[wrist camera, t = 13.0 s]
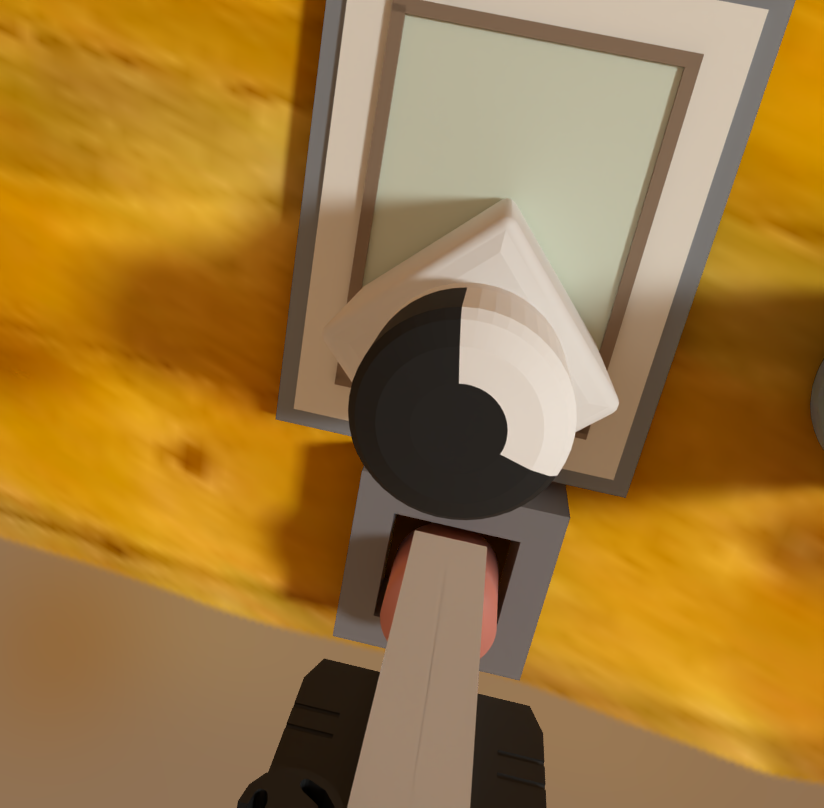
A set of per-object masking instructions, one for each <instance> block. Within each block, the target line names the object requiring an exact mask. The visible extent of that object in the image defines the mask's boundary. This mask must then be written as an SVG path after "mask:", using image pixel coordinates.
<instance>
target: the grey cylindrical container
mask: <svg viewBox="0 0 824 808" xmlns="http://www.w3.org/2000/svg"><path fill="white" fill-rule="evenodd" d="M810 408H811V419H812V423H813V427H814V431H815V434H816V436H817V439H818V442H819V443H820V445H821V447H822V448H823V450H824V360H823V362H822V363H821V365H820V367H819V369H818V371H817V374H816V377H815V380H814V383H813V387H812V394H811V403H810Z"/></svg>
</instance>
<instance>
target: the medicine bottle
mask: <svg viewBox="0 0 824 808" xmlns="http://www.w3.org/2000/svg"><path fill="white" fill-rule="evenodd" d="M322 337H323V340H324V342H325V343H326V345H327V346H328V348H329V349H330V351H331V352H332V354H333V355H334V357H335V358H336V360H337V361H338V363H339V364H340V365H341V367H342V368H343V370H344V371H345V373H346V374H347V376H348V377H349V379H350V380H351V382H352V385H351V390H350V394H349V404H348V418H349V428H350V432H351V436H352V441H353V443H354V446H355V448H356V451H357V454H358V456H359V457H360V459H361V461H362V463H363V465H364V466H365V468H366V469H367V471H368V472H369V473H370V475H371V476H372V477H373V479H374V480H375V481H376V482H377V483H378V484H379V485H380V486H381V487H382V488H383V489H384V490H385V491H387V492H388V493H389V494H390V495H392V496H393V497H394V498H395V499H397V500H399V501H400V502H402V503H404V504H405V505H407V506H409V507H411V508H413V509H415V510H418V511H420V512H422V513H425V514H429V515H432V516H435V517H440V518H445V519H451V520H478V519H485V518H490V517H495V516H499V515H502V514H505V513H508V512H511V511H513V510H515V509H517V508H519V507H521V506H523V505H525V504H526V503H528V502H529V501H531V500H532V499H534V498H535V497H537V496H538V495H539V494H540V493H541V492H542V491H543V490H545V489H546V488H547V487H548V486H549V485H550V483H551V482H552V481H553V480H554V479H555V478H556V476H557V475H558V474H559V472H560V470H561V469H562V467H563V466H564V464H565V462H566V460H567V458H568V455H569V453H570V451H571V448H572V445H573V441H574V437H575V432H577V431H579V430H581V429H583V428H585V427H587V426H589V425H591V424H593V423H594V422H596V421H598V420H600V419H602V418H604V417H606V416H608V415H610V414H612V413H614V412H615V411H616V410H617V407H618V405H619V401H618V397H617V395H616V392H615V390H614V387H613V385H612V382H611V380H610V377H609V375H608V372H607V370H606V367H605V365H604V363H603V360H602V358H601V355H600V353H599V350H598V348H597V345H596V343H595V341H594V340H593V338H592V336H591V334H590V333H589V331H588V329H587V327H586V326H585V324H584V322H583V320H582V318H581V317H580V315H579V313H578V311H577V310H576V308H575V306H574V304H573V303H572V301H571V299H570V297H569V296H568V294H567V292H566V290H565V289H564V287H563V285H562V283H561V282H560V280H559V278H558V276H557V275H556V273H555V271H554V269H553V268H552V266H551V264H550V262H549V261H548V259H547V257H546V255H545V254H544V252H543V250H542V248H541V247H540V245H539V243H538V241H537V240H536V238H535V236H534V234H533V233H532V231H531V229H530V227H529V226H528V224H527V222H526V220H525V219H524V217H523V215H522V213H521V211H520V210H519V208H518V206H517V204H516V203H515V202H514V201H513V200H512V199H509V198H506V199H502V200H501V201H499V202H497V203H496V204H494V205H493V206H491V207H489V208H488V209H486V210H485V211H483V212H481V213H480V214H478V215H477V216H475V217H473V218H472V219H470V220H469V221H467V222H465V223H464V224H462V225H461V226H459V227H458V228H456V229H454V230H453V231H451V232H450V233H448V234H446V235H445V236H443V237H442V238H440V239H438V240H437V241H435V242H434V243H432V244H430V245H429V246H427V247H426V248H424V249H422V250H421V251H419V252H418V253H416V254H414V255H413V256H411V257H410V258H408V259H406V260H405V261H403V262H402V263H400V264H399V265H397V266H395V267H394V268H392V269H391V270H389V271H387V272H386V273H384V274H383V275H381V276H379V277H378V278H376V279H375V280H373V281H371V282H370V283H368V284H367V285H365V286H364V287H363V288H362V289H361V290H360V291H359V292H358V293H357V294H356V295H355V296H354V297H353V298H352V299H351V300H350V301H349V302H348V303H347V304H346V305H345V306H344V307H343V308H342V309H341V310H340V312H339V313H338V314H337V315H336V316H335V317H334V318H333V319H332V320H331V321H330V322H329V323H328V324H327V325H326V326H325V327H324V328H323V332H322Z"/></svg>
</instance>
